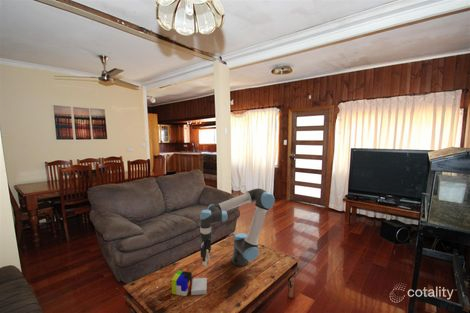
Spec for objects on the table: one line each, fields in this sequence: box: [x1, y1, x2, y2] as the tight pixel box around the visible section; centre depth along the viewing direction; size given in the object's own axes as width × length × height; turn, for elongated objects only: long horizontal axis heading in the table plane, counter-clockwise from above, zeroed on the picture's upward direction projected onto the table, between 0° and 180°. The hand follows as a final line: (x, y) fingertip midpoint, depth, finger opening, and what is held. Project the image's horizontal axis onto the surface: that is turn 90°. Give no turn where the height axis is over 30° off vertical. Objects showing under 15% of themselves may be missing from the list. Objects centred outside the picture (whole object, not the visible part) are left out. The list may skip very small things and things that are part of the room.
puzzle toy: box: [171, 270, 193, 297], centre depth 145 cm, size 10×10×10 cm
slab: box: [190, 277, 208, 296], centre depth 147 cm, size 10×12×4 cm
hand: (206, 263), depth 151 cm, fingers closed on dowel, 3 cm apart
